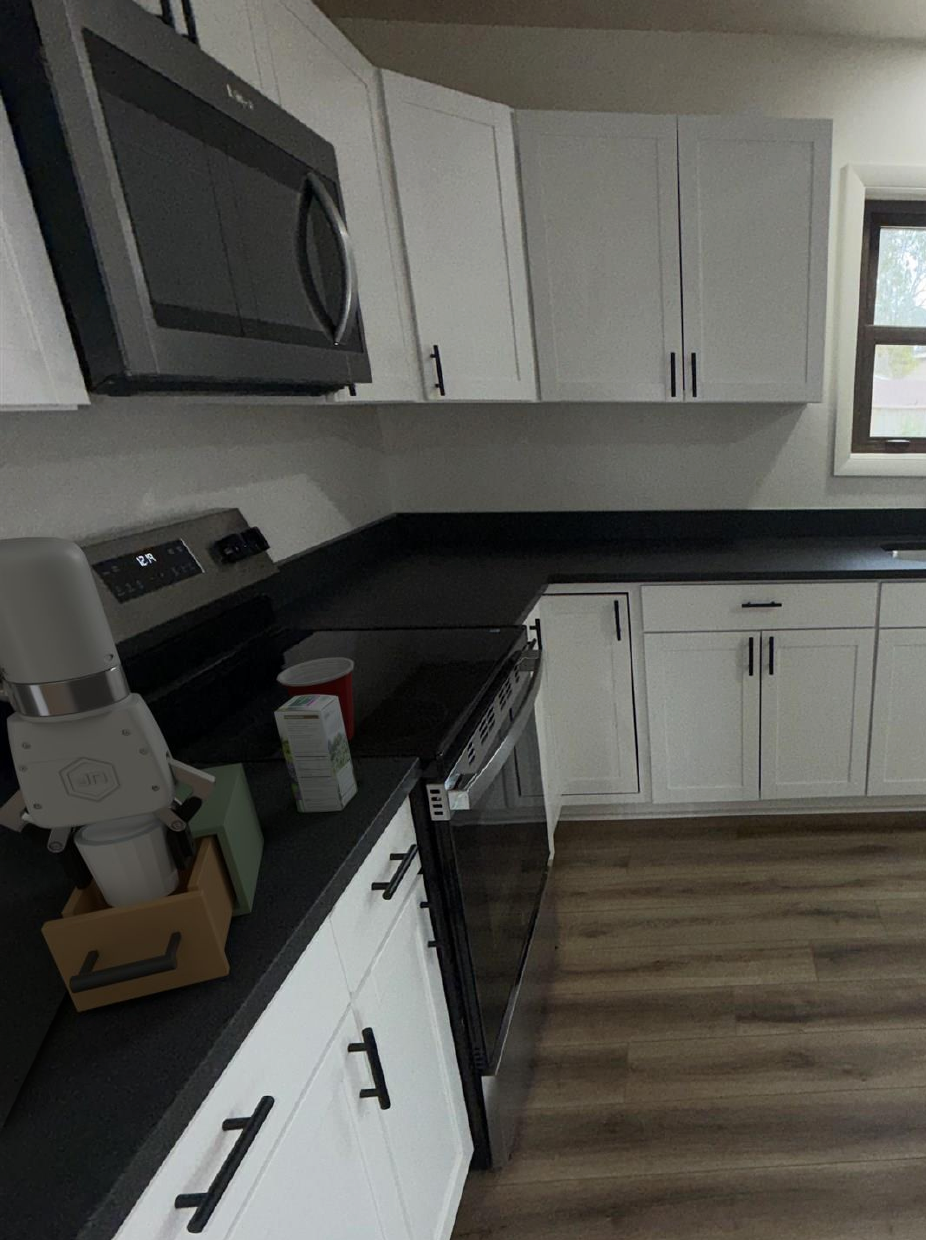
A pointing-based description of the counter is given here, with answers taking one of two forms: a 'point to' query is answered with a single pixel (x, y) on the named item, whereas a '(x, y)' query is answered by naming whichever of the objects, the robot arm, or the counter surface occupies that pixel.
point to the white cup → (129, 859)
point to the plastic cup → (323, 683)
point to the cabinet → (231, 829)
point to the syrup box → (316, 752)
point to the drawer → (146, 935)
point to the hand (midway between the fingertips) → (136, 870)
